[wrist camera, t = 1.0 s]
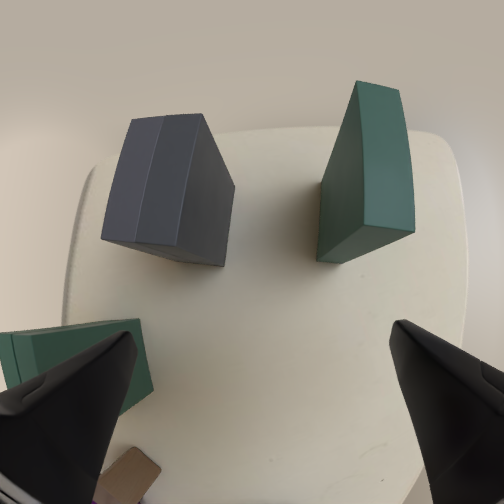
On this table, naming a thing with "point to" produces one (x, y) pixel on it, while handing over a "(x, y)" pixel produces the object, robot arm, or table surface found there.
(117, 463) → the wooden block
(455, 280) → the table surface
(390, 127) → the green book
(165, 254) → the charcoal book
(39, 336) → the green book
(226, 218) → the charcoal book
